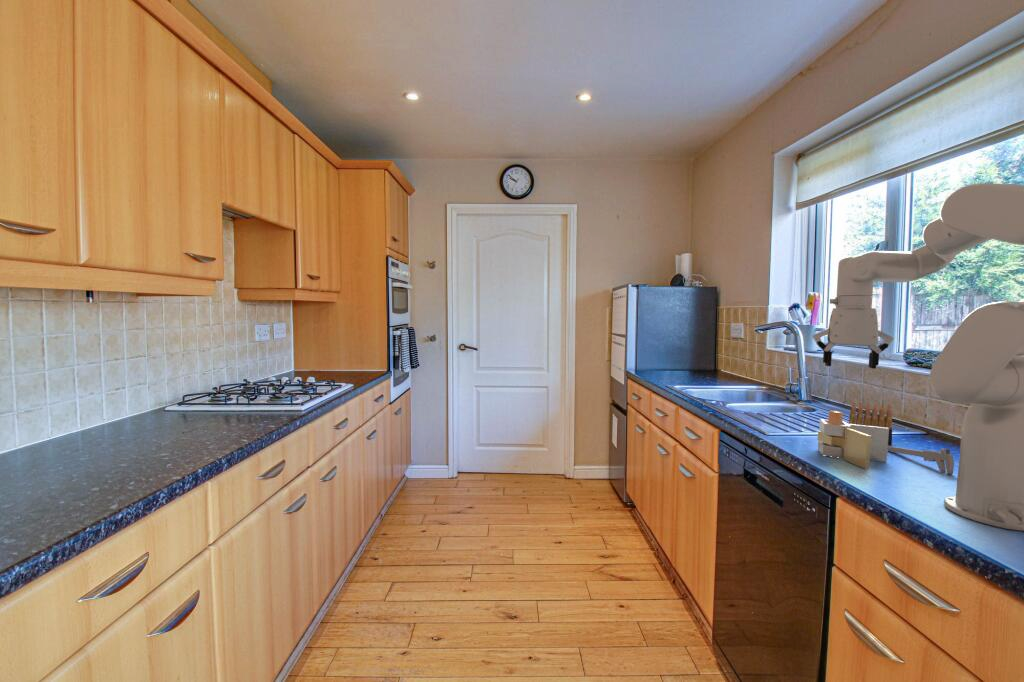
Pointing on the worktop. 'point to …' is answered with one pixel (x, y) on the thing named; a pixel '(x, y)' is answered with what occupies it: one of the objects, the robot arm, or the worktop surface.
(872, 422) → the ammunition clip
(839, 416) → the pin
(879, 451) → the hinge fixed
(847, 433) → the hinge leaf
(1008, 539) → the worktop surface
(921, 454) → the caliper
